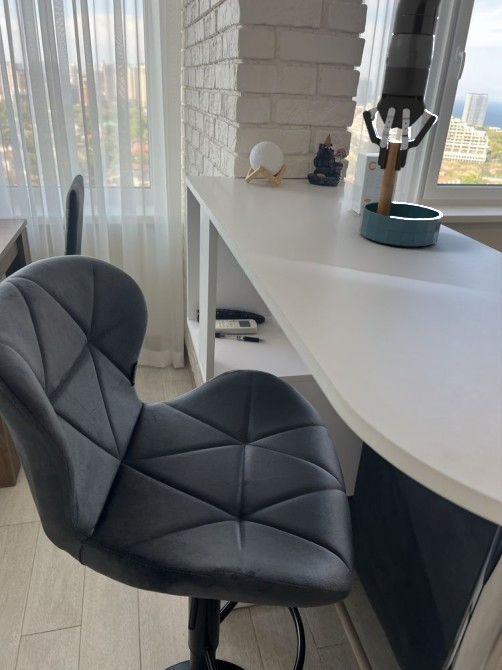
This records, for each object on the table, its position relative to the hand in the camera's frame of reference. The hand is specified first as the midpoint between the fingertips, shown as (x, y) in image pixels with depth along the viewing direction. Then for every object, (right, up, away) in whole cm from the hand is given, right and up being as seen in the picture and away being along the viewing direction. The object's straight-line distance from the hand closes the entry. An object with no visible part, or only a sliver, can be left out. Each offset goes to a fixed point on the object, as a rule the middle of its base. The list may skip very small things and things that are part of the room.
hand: (390, 169), depth 95 cm
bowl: (+2, -12, +4) cm, 13 cm away
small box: (+2, -2, +25) cm, 25 cm away
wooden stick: (-1, -9, +5) cm, 10 cm away
